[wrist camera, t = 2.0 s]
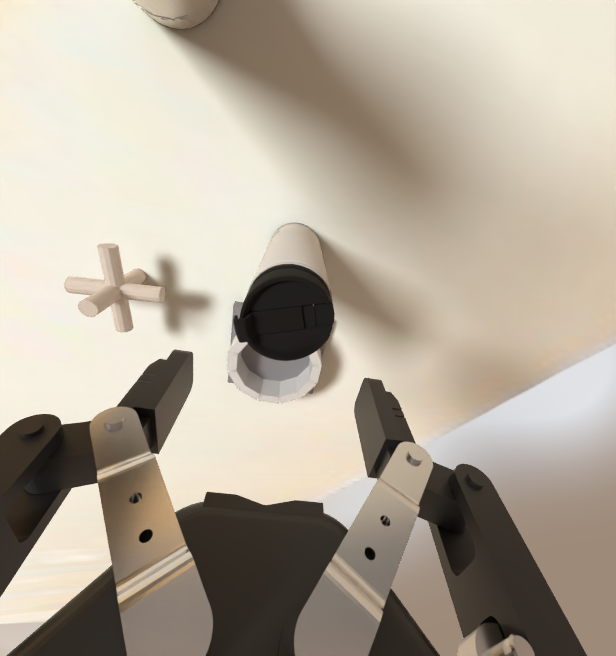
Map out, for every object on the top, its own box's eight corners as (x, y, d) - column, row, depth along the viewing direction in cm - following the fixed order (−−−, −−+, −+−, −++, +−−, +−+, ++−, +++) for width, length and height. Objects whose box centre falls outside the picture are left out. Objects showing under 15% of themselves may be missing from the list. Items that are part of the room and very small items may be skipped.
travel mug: (262, 225, 34) (220, 285, 17) (318, 219, 34) (333, 273, 16) (271, 276, 37) (244, 371, 20) (322, 270, 37) (339, 362, 19)
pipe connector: (175, 241, 35) (132, 265, 26) (181, 314, 40) (147, 355, 31) (88, 230, 34) (15, 251, 25) (106, 306, 39) (49, 346, 30)
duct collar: (235, 301, 39) (227, 317, 35) (330, 317, 40) (333, 334, 36) (229, 377, 45) (222, 398, 41) (312, 388, 46) (312, 410, 42)
